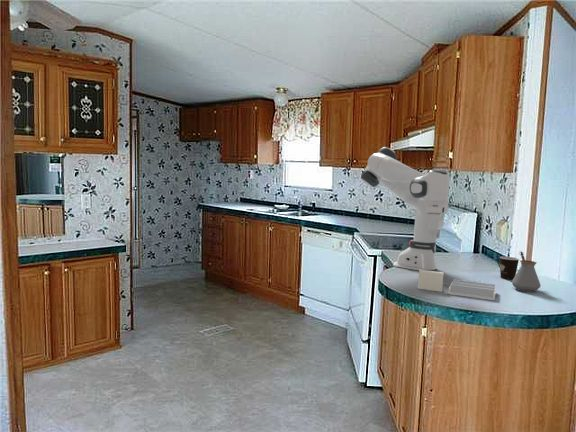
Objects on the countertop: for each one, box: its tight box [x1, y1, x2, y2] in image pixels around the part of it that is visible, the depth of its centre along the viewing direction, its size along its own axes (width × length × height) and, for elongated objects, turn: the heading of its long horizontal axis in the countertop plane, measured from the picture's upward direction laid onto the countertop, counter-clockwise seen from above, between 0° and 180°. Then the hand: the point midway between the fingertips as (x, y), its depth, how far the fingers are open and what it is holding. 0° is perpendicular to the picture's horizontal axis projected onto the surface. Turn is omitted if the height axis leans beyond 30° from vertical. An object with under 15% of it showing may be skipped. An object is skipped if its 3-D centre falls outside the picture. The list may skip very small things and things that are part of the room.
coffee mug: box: [496, 256, 520, 281], centre depth 233 cm, size 12×9×10 cm
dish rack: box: [447, 278, 497, 301], centre depth 200 cm, size 18×13×4 cm
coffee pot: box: [511, 250, 542, 293], centre depth 214 cm, size 21×12×15 cm, turn 164°
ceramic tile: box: [417, 270, 445, 293], centre depth 205 cm, size 10×2×8 cm, turn 65°
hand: (435, 239), depth 203 cm, fingers open, 8 cm apart
